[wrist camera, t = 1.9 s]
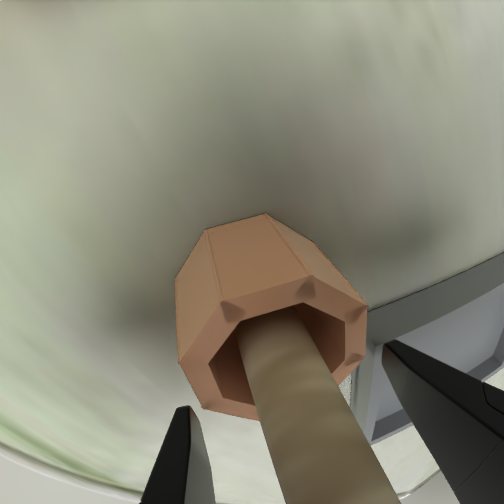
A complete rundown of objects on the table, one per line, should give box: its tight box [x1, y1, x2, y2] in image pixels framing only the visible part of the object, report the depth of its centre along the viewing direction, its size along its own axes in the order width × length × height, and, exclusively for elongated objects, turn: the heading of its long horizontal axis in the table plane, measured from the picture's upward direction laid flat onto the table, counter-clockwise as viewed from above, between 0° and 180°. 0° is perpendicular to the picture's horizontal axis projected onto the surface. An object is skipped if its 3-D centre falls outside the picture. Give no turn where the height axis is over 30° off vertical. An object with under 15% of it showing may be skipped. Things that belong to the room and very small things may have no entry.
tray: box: [350, 253, 504, 446], centre depth 19 cm, size 16×12×2 cm
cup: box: [175, 213, 368, 421], centre depth 12 cm, size 6×6×5 cm
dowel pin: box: [234, 305, 401, 504], centre depth 9 cm, size 2×2×10 cm
